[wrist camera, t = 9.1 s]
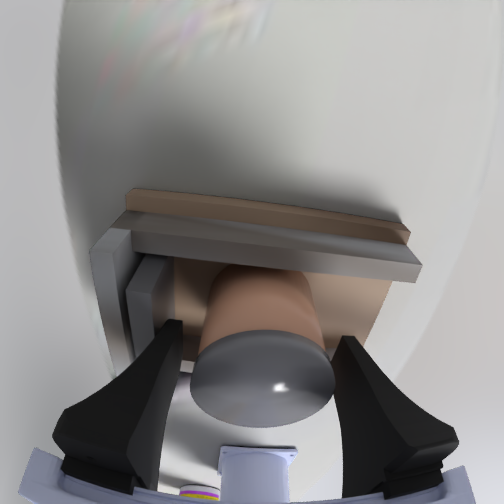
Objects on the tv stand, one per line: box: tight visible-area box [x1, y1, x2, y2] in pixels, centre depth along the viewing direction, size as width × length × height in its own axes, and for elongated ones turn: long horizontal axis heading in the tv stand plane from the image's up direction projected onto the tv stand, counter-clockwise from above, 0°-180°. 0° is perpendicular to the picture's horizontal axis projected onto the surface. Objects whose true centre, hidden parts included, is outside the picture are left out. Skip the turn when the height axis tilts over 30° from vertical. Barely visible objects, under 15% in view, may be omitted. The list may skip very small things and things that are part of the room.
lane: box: [89, 189, 423, 376], centre depth 15 cm, size 10×14×5 cm
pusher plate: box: [126, 253, 175, 358], centre depth 14 cm, size 6×1×4 cm, turn 172°
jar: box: [190, 264, 335, 428], centre depth 14 cm, size 6×6×6 cm
